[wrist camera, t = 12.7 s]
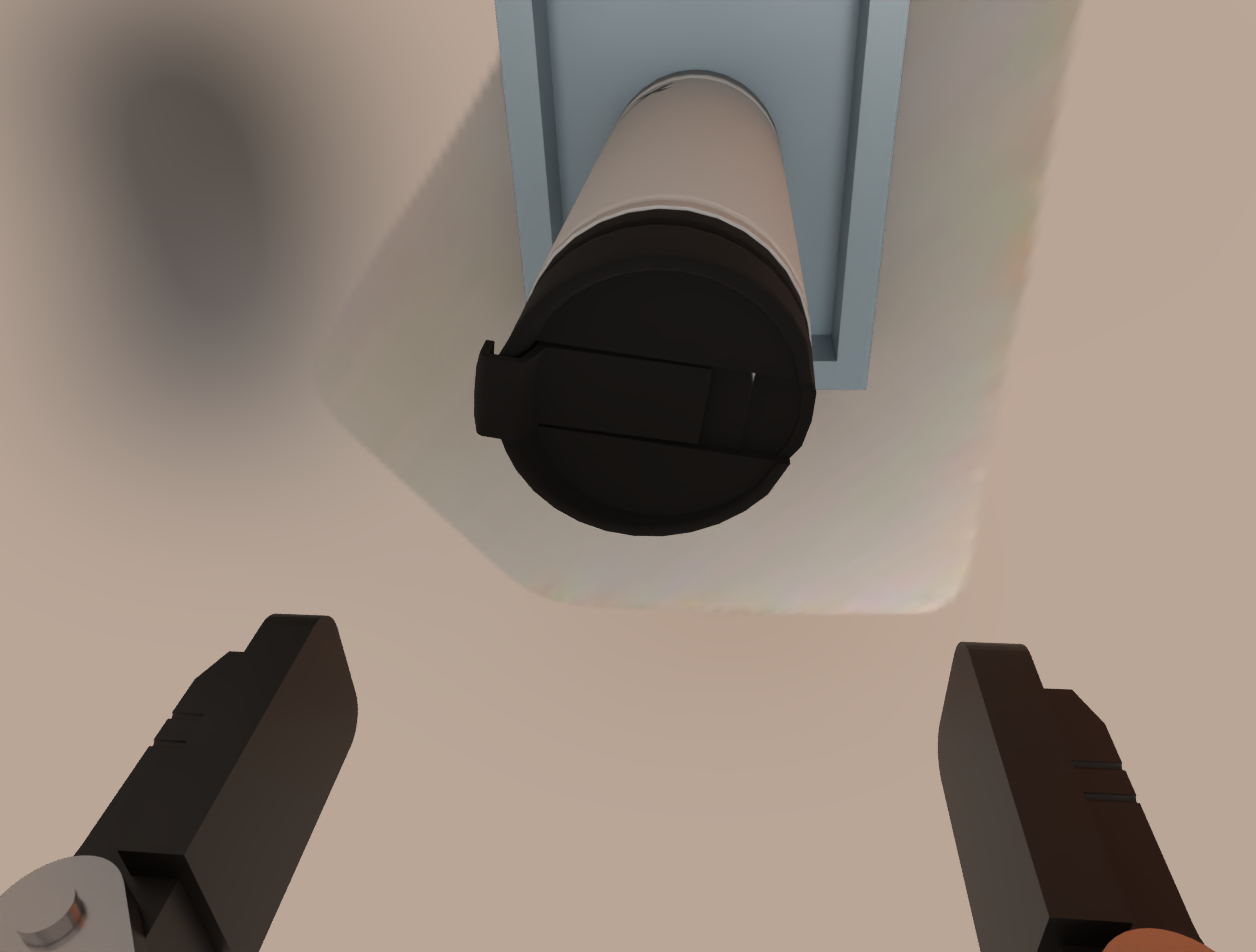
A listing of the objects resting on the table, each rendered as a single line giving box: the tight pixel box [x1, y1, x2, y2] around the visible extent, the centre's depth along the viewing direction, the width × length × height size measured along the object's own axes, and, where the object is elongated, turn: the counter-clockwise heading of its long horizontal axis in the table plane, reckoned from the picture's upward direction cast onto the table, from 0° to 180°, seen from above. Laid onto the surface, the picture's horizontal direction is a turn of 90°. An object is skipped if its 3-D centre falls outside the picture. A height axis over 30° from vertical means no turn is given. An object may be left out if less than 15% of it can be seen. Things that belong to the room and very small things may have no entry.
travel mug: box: [474, 70, 816, 536], centre depth 25 cm, size 6×7×20 cm
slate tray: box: [495, 0, 910, 390], centre depth 33 cm, size 16×13×4 cm
